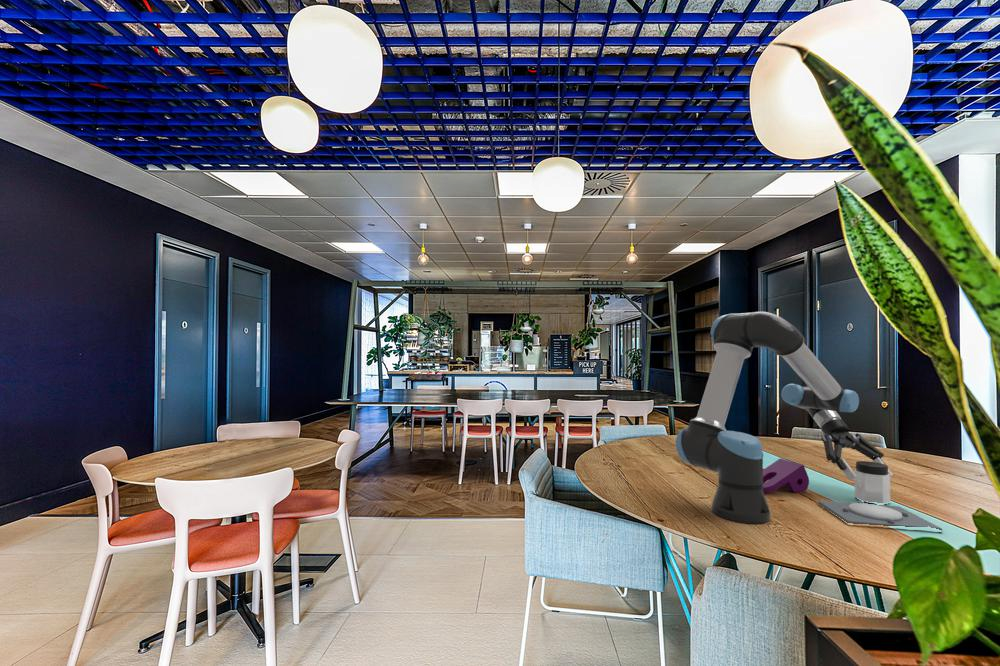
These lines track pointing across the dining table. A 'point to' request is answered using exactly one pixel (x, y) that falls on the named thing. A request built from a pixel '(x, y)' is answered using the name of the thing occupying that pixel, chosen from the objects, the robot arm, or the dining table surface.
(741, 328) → the robot arm
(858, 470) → the jar
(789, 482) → the mounting bracket
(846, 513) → the board
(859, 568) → the dining table surface
